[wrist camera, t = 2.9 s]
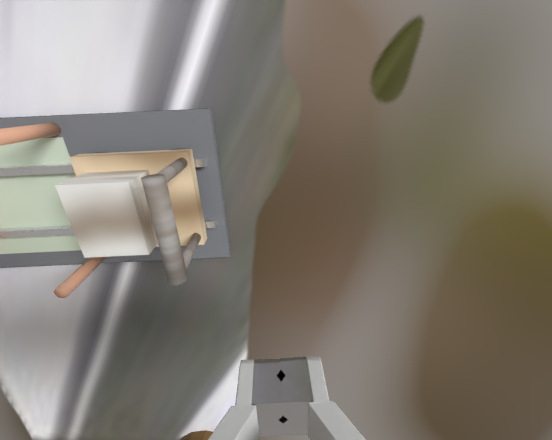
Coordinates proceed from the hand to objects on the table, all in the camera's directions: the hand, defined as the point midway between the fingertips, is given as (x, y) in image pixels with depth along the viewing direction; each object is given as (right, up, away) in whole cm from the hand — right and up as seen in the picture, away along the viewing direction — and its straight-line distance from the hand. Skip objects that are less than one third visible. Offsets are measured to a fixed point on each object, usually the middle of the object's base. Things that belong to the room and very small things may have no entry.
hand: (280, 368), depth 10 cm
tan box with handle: (-14, +8, +19) cm, 25 cm away
